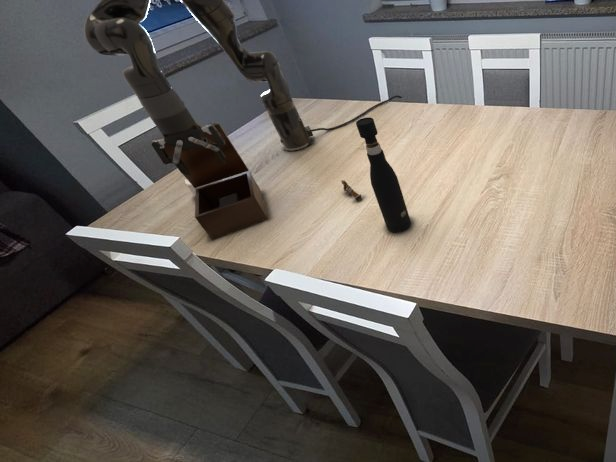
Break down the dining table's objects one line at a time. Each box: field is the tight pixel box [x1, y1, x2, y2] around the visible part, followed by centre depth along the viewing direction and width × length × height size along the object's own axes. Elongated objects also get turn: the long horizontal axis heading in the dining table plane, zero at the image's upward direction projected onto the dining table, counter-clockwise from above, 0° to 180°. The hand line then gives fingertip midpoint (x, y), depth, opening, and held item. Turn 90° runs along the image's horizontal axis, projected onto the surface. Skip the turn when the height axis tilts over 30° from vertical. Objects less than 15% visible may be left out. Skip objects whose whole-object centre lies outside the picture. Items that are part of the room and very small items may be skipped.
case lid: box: [156, 122, 250, 188], centre depth 112 cm, size 18×15×5 cm
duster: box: [219, 193, 241, 207], centre depth 115 cm, size 5×8×5 cm, turn 30°
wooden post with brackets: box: [340, 179, 363, 202], centre depth 119 cm, size 2×8×4 cm, turn 49°
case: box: [194, 170, 269, 240], centre depth 116 cm, size 17×15×8 cm
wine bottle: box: [355, 116, 412, 234], centre depth 97 cm, size 6×6×30 cm
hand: (206, 168), depth 106 cm, fingers open, 8 cm apart
